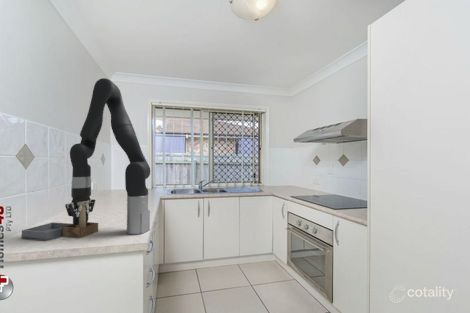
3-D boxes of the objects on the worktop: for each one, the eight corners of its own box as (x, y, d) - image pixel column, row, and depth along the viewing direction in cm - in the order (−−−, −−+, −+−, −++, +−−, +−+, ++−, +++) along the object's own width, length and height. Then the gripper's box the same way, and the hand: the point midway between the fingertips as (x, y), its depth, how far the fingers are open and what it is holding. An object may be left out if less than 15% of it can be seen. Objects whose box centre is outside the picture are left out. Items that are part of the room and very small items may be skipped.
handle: (69, 235, 98) (70, 202, 98) (83, 231, 104) (83, 199, 104) (77, 236, 96) (78, 202, 97) (91, 231, 103) (91, 200, 103)
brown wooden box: (98, 231, 104) (98, 222, 104) (80, 237, 95) (80, 228, 95) (80, 229, 106) (80, 221, 106) (61, 236, 97) (62, 227, 97)
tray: (75, 231, 104) (76, 223, 104) (47, 240, 91) (47, 232, 91) (52, 229, 107) (52, 222, 107) (21, 238, 94) (21, 230, 94)
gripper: (73, 188, 93) (73, 228, 93) (100, 185, 107) (100, 219, 106) (59, 188, 95) (58, 227, 94) (88, 184, 109) (87, 219, 108)
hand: (80, 223), depth 100 cm, fingers closed on handle, 4 cm apart
